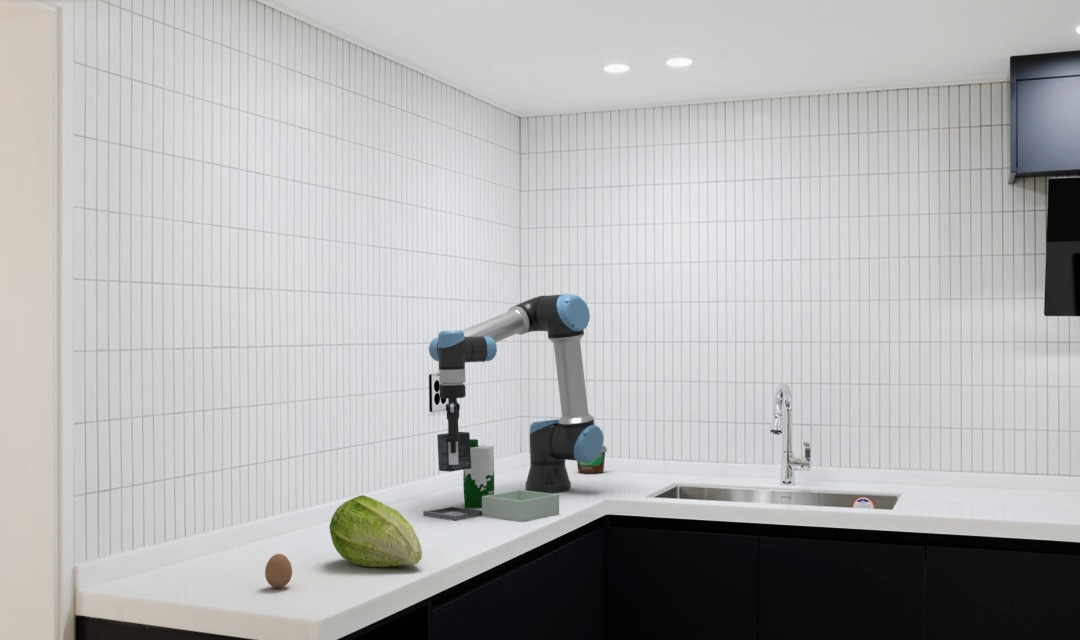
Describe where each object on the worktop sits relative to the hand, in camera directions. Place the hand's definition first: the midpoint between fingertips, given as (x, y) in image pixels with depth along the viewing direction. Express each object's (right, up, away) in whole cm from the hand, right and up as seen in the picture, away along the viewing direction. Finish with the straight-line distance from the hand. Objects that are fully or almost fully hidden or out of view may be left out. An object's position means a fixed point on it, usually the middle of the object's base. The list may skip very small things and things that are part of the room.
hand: (454, 462), depth 303 cm
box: (0, -2, 0) cm, 2 cm away
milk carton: (+6, -16, +15) cm, 23 cm away
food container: (+43, -16, +87) cm, 99 cm away
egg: (-29, -15, -86) cm, 92 cm away
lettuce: (-12, -15, -65) cm, 68 cm away
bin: (+19, -15, -2) cm, 24 cm away
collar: (0, -15, 0) cm, 15 cm away
